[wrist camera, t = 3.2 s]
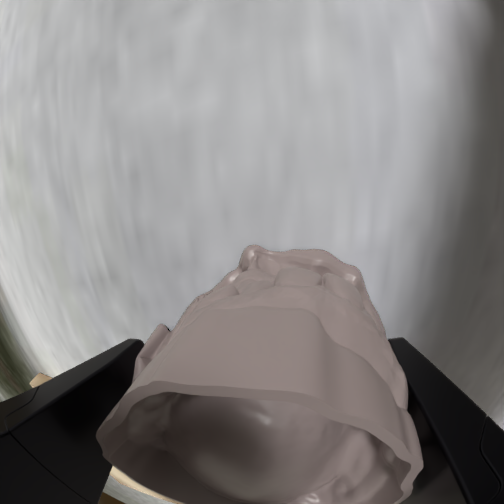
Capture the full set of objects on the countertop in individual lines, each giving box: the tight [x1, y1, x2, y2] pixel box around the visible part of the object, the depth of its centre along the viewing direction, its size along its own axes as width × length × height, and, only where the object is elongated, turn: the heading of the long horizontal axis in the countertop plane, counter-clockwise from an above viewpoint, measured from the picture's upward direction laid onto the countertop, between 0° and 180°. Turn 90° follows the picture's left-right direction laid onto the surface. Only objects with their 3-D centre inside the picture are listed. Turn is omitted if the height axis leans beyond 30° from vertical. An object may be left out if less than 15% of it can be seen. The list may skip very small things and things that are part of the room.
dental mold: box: [96, 245, 423, 504], centre depth 6 cm, size 8×7×5 cm
